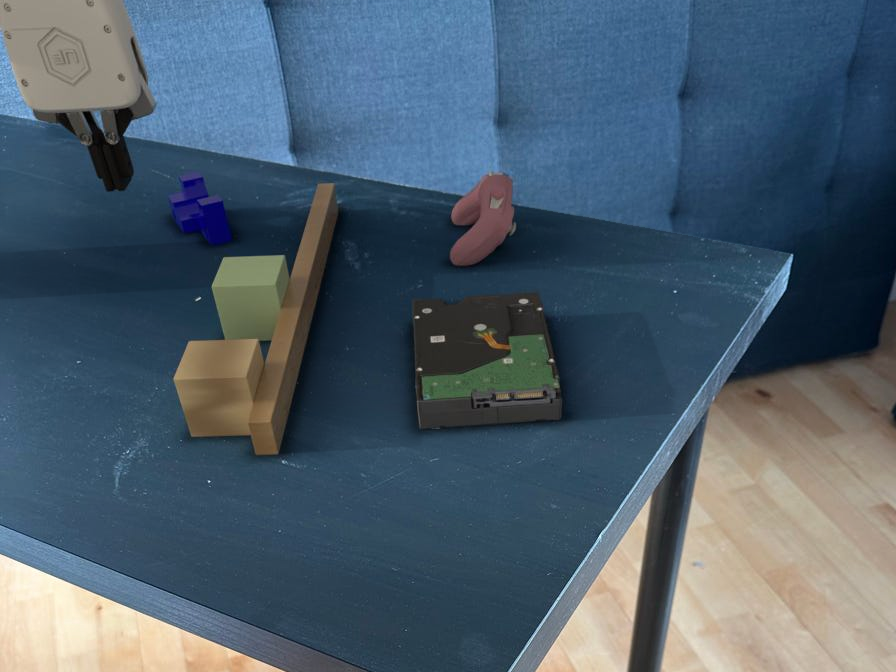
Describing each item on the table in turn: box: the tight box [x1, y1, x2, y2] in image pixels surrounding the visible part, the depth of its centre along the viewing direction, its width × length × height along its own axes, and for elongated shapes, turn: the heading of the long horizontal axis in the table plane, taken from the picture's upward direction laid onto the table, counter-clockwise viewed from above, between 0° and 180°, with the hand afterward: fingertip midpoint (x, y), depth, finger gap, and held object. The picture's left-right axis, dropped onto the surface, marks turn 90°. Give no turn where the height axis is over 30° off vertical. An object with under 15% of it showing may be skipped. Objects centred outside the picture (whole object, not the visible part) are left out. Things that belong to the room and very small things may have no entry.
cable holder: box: [167, 171, 233, 247], centre depth 89 cm, size 8×4×4 cm, turn 28°
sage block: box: [211, 254, 290, 342], centre depth 75 cm, size 5×5×5 cm
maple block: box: [173, 339, 265, 438], centre depth 66 cm, size 5×5×5 cm
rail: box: [248, 182, 339, 456], centre depth 77 cm, size 2×40×3 cm, turn 0°
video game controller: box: [449, 169, 517, 267], centre depth 84 cm, size 10×5×7 cm, turn 0°
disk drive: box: [411, 291, 563, 430], centre depth 70 cm, size 10×3×15 cm
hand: (119, 185), depth 87 cm, fingers closed
